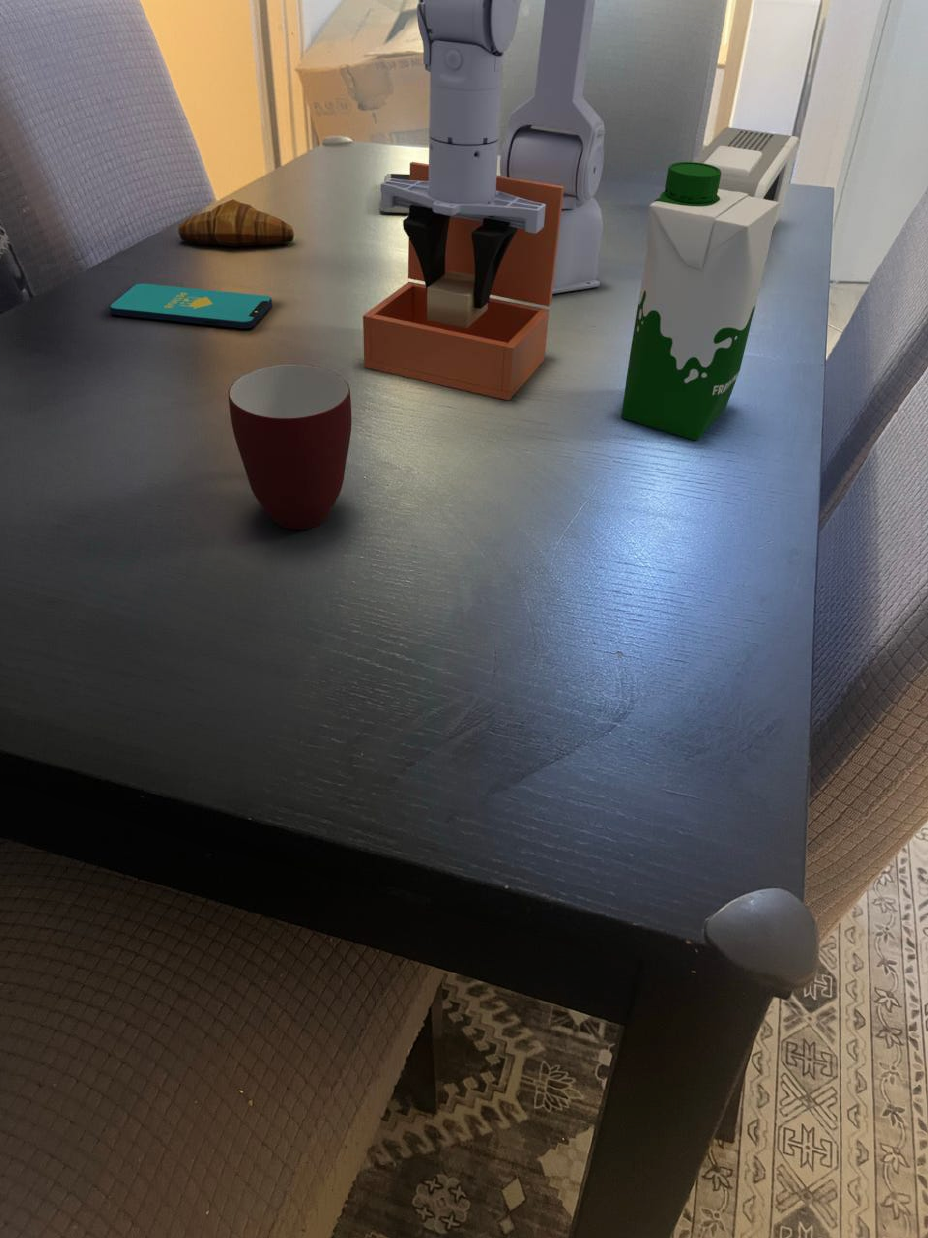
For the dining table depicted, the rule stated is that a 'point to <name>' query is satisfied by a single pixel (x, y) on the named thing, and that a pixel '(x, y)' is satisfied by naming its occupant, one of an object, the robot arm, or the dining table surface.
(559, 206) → the case cover
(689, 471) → the dining table surface
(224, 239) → the croissant
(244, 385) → the mug
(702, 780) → the dining table surface
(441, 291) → the block
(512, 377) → the case
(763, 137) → the alarm clock
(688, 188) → the milk carton
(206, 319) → the smartphone
